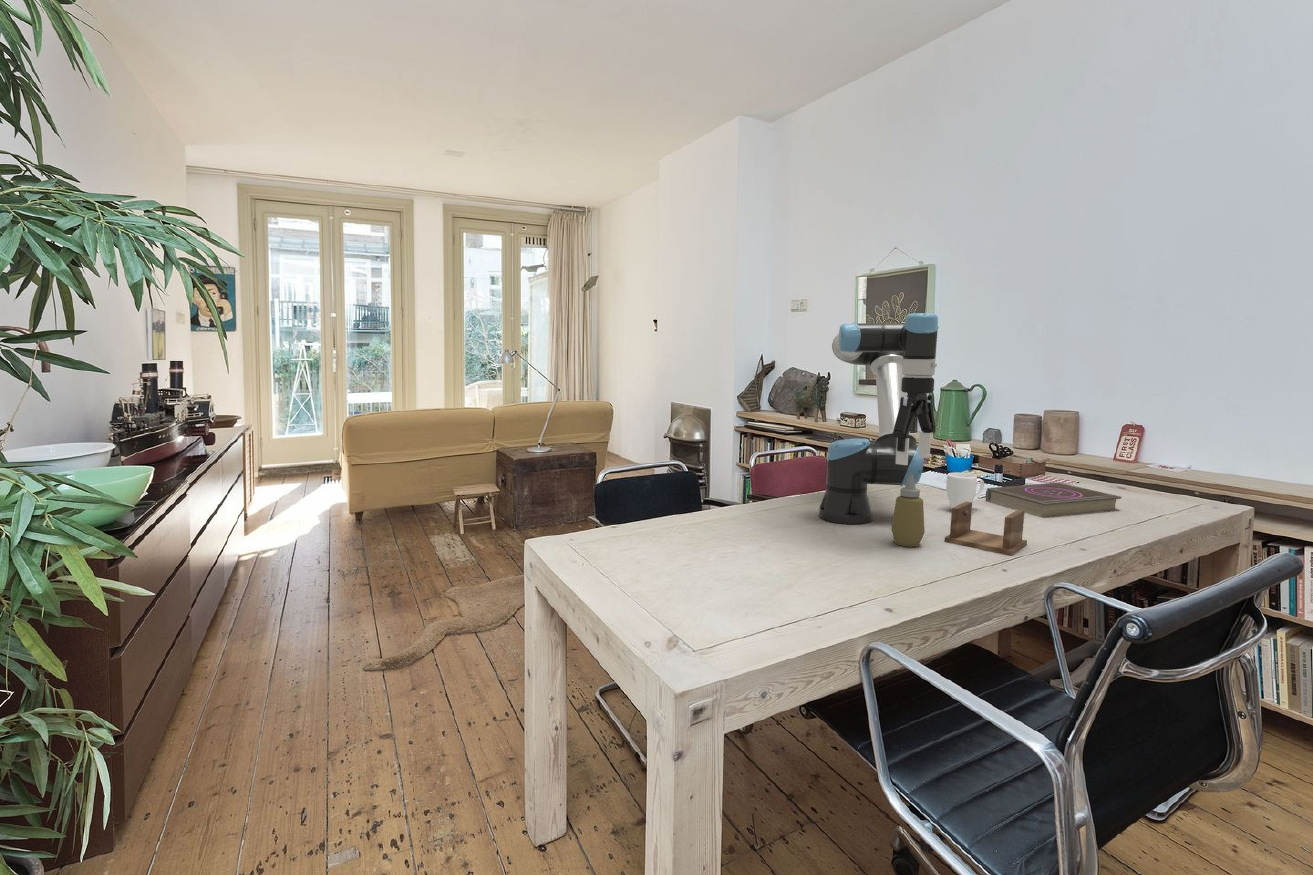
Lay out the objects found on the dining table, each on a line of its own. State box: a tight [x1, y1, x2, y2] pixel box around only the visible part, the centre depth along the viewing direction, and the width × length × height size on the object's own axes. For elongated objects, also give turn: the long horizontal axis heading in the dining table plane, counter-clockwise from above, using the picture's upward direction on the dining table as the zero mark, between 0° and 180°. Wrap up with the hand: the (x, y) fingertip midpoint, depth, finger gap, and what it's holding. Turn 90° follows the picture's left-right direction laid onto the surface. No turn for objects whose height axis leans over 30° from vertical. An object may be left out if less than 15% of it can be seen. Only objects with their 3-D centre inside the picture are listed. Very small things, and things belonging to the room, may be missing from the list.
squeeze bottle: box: [890, 475, 926, 548], centre depth 162 cm, size 8×8×18 cm
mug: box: [946, 472, 985, 510], centre depth 196 cm, size 12×8×11 cm
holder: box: [944, 501, 1028, 556], centre depth 164 cm, size 16×12×9 cm
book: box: [985, 482, 1122, 519], centre depth 204 cm, size 30×22×5 cm
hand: (913, 461), depth 161 cm, fingers open, 13 cm apart
